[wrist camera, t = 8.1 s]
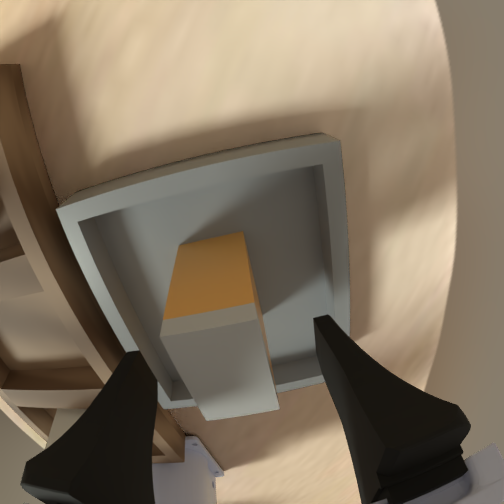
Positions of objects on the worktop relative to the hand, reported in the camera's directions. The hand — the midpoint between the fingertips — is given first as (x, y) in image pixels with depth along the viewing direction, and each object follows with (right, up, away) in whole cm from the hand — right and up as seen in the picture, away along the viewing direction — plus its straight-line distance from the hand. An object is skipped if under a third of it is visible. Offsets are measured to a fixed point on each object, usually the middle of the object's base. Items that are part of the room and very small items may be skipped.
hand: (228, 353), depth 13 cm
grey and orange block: (0, +3, +3) cm, 4 cm away
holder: (-13, 0, +4) cm, 14 cm away
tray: (0, +2, +4) cm, 5 cm away
